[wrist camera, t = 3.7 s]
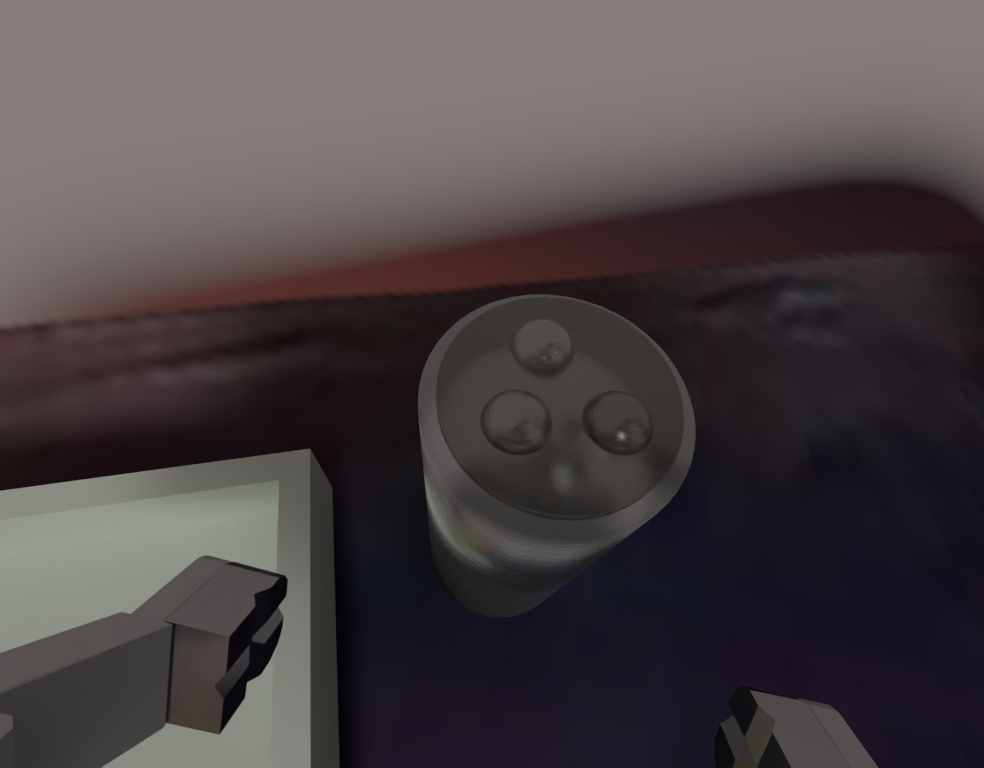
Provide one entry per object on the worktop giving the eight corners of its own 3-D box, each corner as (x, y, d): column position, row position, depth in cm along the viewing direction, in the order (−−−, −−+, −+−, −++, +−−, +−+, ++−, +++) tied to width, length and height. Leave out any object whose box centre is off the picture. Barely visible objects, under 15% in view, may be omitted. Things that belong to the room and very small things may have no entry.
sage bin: (332, 487, 20) (310, 448, 17) (344, 968, 13) (311, 1067, 10) (-89, 550, 18) (-215, 520, 14) (-348, 1188, 11) (-718, 1428, 7)
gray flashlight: (546, 471, 22) (651, 259, 11) (580, 602, 19) (769, 498, 8) (423, 490, 21) (401, 279, 10) (440, 631, 18) (437, 559, 7)
